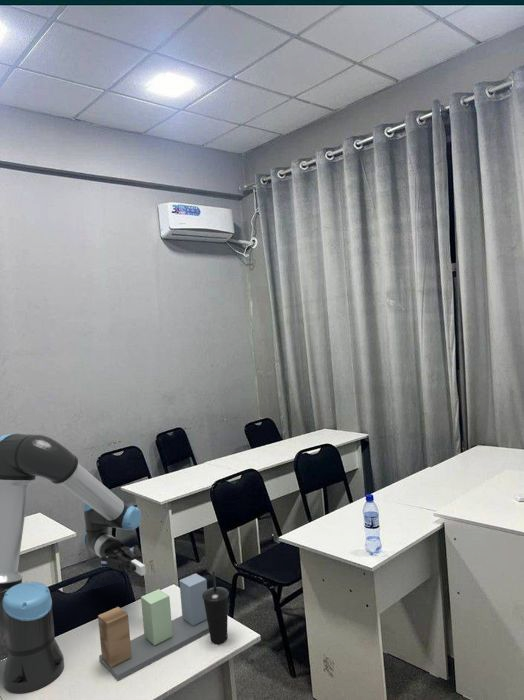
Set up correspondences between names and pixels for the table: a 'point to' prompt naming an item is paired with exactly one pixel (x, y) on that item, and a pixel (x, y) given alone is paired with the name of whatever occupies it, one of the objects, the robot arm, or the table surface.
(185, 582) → the blue-grey tall block
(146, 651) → the grey flat board
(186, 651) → the table surface
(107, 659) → the brown wooden block
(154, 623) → the pale green block
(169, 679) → the table surface
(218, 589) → the drinking cup
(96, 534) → the robot arm
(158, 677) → the table surface
